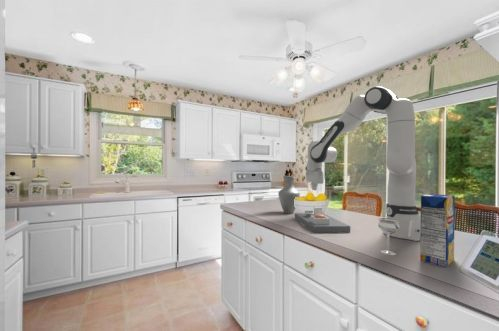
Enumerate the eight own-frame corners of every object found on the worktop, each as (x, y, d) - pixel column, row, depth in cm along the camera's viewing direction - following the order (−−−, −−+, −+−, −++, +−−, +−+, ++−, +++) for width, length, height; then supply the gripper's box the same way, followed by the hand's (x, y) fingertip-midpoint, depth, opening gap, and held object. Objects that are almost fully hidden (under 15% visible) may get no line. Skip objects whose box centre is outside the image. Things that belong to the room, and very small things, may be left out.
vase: (302, 212, 165) (303, 176, 165) (294, 215, 153) (295, 176, 153) (283, 210, 173) (284, 175, 173) (274, 212, 161) (275, 175, 161)
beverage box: (420, 260, 80) (420, 195, 80) (429, 253, 87) (430, 193, 87) (446, 267, 75) (446, 197, 75) (454, 259, 82) (454, 195, 82)
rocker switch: (309, 213, 139) (309, 210, 139) (312, 213, 134) (312, 210, 134) (304, 213, 138) (304, 210, 139) (307, 213, 134) (307, 210, 134)
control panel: (323, 218, 146) (323, 208, 147) (350, 232, 115) (350, 219, 115) (294, 218, 145) (294, 208, 145) (314, 232, 113) (314, 220, 113)
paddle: (320, 213, 142) (320, 206, 142) (321, 214, 140) (322, 207, 140) (313, 213, 142) (314, 206, 142) (315, 214, 140) (315, 207, 140)
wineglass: (375, 252, 87) (376, 219, 88) (380, 248, 93) (380, 217, 93) (397, 257, 83) (397, 222, 83) (400, 252, 88) (401, 219, 88)
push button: (322, 217, 123) (322, 214, 123) (326, 220, 118) (326, 216, 118) (313, 217, 123) (313, 214, 123) (316, 220, 118) (316, 216, 118)
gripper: (326, 167, 138) (326, 191, 138) (313, 167, 158) (313, 188, 158) (315, 167, 137) (315, 191, 137) (304, 167, 157) (304, 188, 157)
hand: (314, 190), depth 148 cm, fingers closed
